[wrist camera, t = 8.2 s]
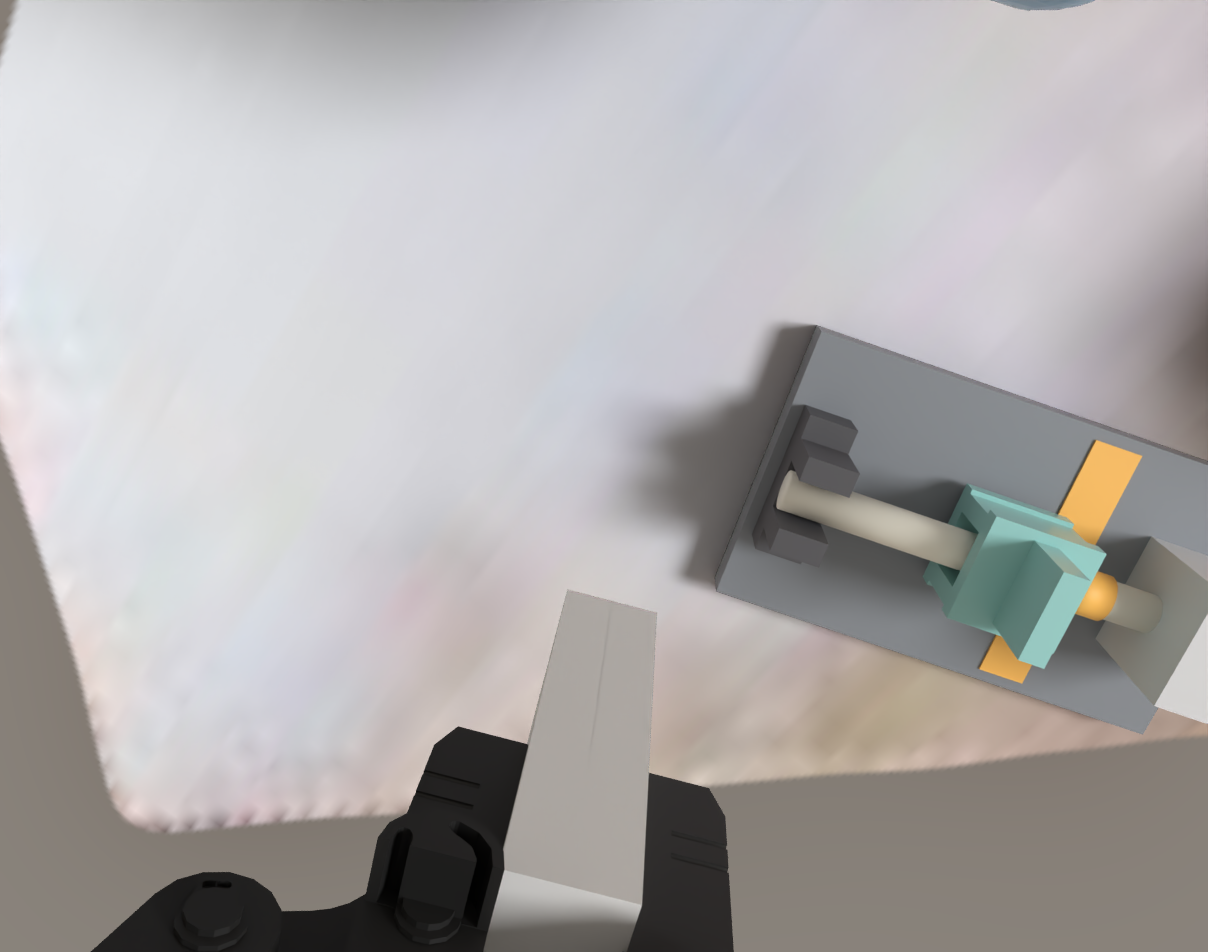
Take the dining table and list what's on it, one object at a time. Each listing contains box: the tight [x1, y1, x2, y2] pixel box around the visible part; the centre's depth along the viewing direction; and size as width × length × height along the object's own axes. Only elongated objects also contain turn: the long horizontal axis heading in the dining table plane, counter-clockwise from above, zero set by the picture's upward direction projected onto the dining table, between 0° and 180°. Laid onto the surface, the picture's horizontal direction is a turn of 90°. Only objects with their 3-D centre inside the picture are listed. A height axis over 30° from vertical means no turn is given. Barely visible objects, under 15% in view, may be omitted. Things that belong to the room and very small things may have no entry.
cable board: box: [715, 325, 1208, 734], centre depth 41 cm, size 12×20×7 cm, turn 71°
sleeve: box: [923, 483, 1107, 669], centre depth 39 cm, size 4×4×7 cm
